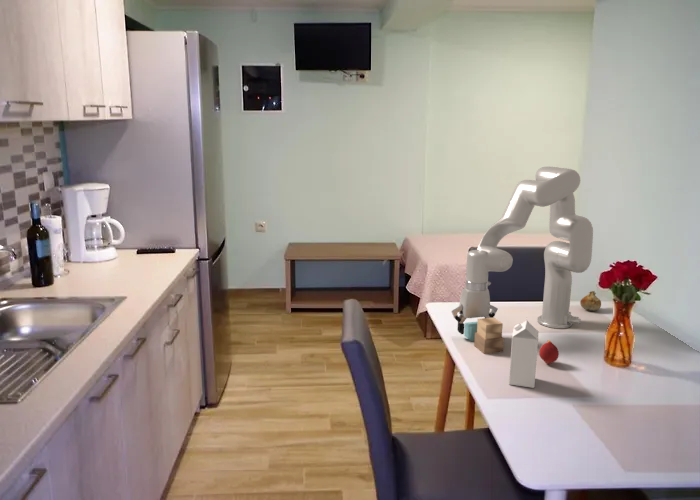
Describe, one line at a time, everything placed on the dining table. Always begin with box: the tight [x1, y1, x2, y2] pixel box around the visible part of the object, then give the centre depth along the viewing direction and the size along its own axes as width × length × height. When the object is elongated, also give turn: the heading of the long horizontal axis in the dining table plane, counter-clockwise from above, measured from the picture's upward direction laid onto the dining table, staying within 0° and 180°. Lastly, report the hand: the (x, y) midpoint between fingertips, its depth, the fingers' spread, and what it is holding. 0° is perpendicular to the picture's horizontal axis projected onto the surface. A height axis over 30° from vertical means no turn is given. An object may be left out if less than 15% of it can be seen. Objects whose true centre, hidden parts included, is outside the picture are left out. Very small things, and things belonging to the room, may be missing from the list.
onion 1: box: [538, 339, 560, 365], centre depth 177 cm, size 6×6×8 cm
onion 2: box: [579, 290, 602, 312], centre depth 227 cm, size 8×8×8 cm
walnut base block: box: [473, 332, 505, 355], centre depth 189 cm, size 7×7×5 cm
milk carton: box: [508, 317, 540, 389], centre depth 164 cm, size 7×7×19 cm
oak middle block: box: [477, 316, 504, 339], centre depth 188 cm, size 6×6×5 cm
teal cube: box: [463, 321, 478, 342], centre depth 199 cm, size 5×5×5 cm
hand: (473, 331), depth 199 cm, fingers open, 9 cm apart
